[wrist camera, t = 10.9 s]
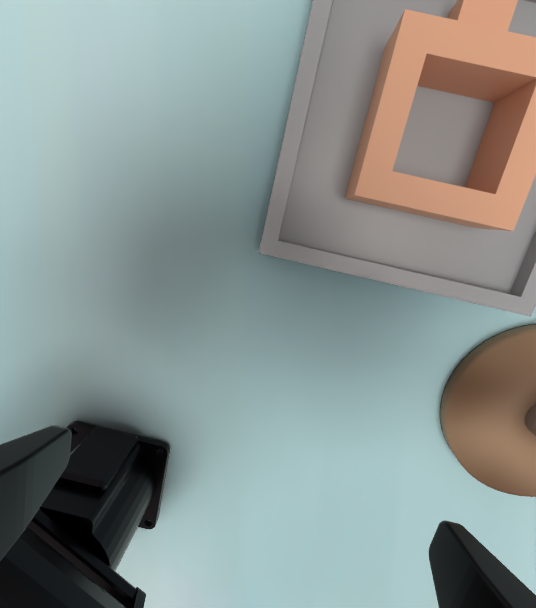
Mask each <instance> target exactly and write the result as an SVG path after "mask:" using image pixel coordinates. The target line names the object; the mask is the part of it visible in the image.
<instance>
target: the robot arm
mask: <svg viewBox="0 0 536 608" xmlns="http://www.w3.org/2000/svg"><path fill="white" fill-rule="evenodd" d="M74 428H75V429H76V430H77V431H78V432H77V431H75V430H74ZM158 449H161V450H163V452H160V451H159V450H158ZM169 453H170V447H169V445H168V444H166V443H165V442H161V441H157V440H153V439H149V438H145V437H141V436H137V435H133V434H129V433H124V432H120V431H116V430H112V429H108V428H104V427H100V426H96V425H92V424H88V423H83V422H79V421H74V422H72V423H71V424H70V425H69V426H68V427H67V428H64V427H60V426H50V427H47V428H45V429H42V430H39V431H36V432H34V433H31V434H28V435H26V436H23V437H20V438H17V439H15V440H12V441H9V442H7V443H4V444H1V445H0V608H143V607H144V602H145V597H146V594H145V593H144V592H143V591H142V590H141V589H139V588H138V587H137V588H135V587H133V586H132V585H131V584H130V583H129V582H127V581H126V580H125V579H124V578H123V577H121V576H120V575H119V574H118V573H117V572H115V571H116V569H117V567H118V565H119V563H120V561H121V559H122V557H123V555H124V553H125V551H126V549H127V547H128V545H129V543H130V541H131V539H132V537H133V535H134V533H135V531H136V529H137V527H141V528H145V529H153V528H154V527H155V525H156V523H157V520H158V516H159V510H160V504H161V498H162V493H163V487H164V481H165V476H166V470H167V464H168V458H169ZM149 520H150V521H149ZM429 560H430V565H431V570H432V575H433V580H434V585H435V590H436V595H437V600H438V605H439V608H536V595H535V594H534V593H533V592H532V591H531V590H529V589H528V588H527V587H526V586H525V585H524V584H523V583H522V582H521V581H520V580H519V579H518V578H517V577H516V576H515V575H514V574H513V573H512V572H510V571H509V570H508V569H507V568H506V567H505V566H504V565H503V564H502V563H501V562H500V561H499V560H498V559H497V558H496V557H495V556H494V555H493V554H492V553H490V552H489V551H488V550H487V549H486V548H485V547H484V546H483V545H482V544H481V543H480V542H479V541H478V540H477V539H476V538H475V537H474V536H473V535H472V534H470V533H469V532H468V531H467V530H466V529H465V528H464V527H463V526H462V525H460V524H458V523H453V522H449V521H442V522H441V523H440V524H439V526H438V528H437V530H436V533H435V535H434V537H433V540H432V542H431V544H430V547H429Z"/></svg>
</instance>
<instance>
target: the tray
mask: <svg viewBox="0 0 536 608" xmlns="http://www.w3.org/2000/svg"><path fill="white" fill-rule="evenodd" d="M457 1H458V0H313V2H312V7H311V11H310V16H309V21H308V25H307V30H306V35H305V39H304V44H303V49H302V53H301V58H300V63H299V67H298V72H297V77H296V81H295V86H294V91H293V95H292V100H291V105H290V109H289V114H288V119H287V123H286V128H285V133H284V137H283V142H282V147H281V151H280V156H279V161H278V165H277V170H276V175H275V179H274V184H273V189H272V193H271V198H270V203H269V207H268V212H267V217H266V221H265V226H264V231H263V235H262V240H261V244H260V249H259V253H260V254H264V255H269V256H273V257H277V258H281V259H286V260H290V261H294V262H299V263H303V264H307V265H312V266H316V267H320V268H324V269H329V270H333V271H337V272H342V273H346V274H350V275H355V276H359V277H363V278H368V279H372V280H376V281H380V282H385V283H389V284H393V285H398V286H402V287H406V288H411V289H415V290H419V291H423V292H428V293H432V294H436V295H441V296H445V297H449V298H454V299H458V300H462V301H467V302H471V303H475V304H479V305H484V306H488V307H492V308H497V309H501V310H505V311H510V312H514V313H518V314H522V315H527V316H531V315H532V312H533V310H534V308H535V305H536V175H535V178H534V180H533V183H532V185H531V188H530V191H529V193H528V196H527V198H526V201H525V203H524V206H523V208H522V211H521V213H520V216H519V218H518V221H517V224H516V226H515V229H514V231H505V230H492V229H478V228H473V227H469V226H464V225H460V224H456V223H451V222H447V221H442V220H438V219H434V218H429V217H425V216H420V215H416V214H412V213H407V212H403V211H398V210H394V209H390V208H385V207H381V206H376V205H372V204H368V203H363V202H359V201H354V200H350V199H346V198H345V196H346V192H347V188H348V184H349V181H350V177H351V173H352V169H353V166H354V162H355V158H356V154H357V151H358V147H359V143H360V139H361V135H362V132H363V128H364V124H365V120H366V117H367V113H368V109H369V105H370V102H371V98H372V94H373V90H374V87H375V83H376V79H377V75H378V72H379V68H380V64H381V60H382V56H383V53H384V49H385V46H386V44H387V42H388V40H389V39H390V37H391V35H392V33H393V31H394V29H395V27H396V25H397V24H398V22H399V20H400V18H401V16H402V14H403V12H404V10H405V9H407V10H412V11H416V12H421V13H425V14H430V15H435V16H439V17H444V18H448V16H449V13H450V11H451V9H452V8H453V7H454V5H455V4H456V3H457ZM508 31H509V32H513V33H518V34H522V35H527V36H532V37H536V0H518V2H517V5H516V8H515V11H514V14H513V17H512V20H511V22H510V25H509V28H508ZM493 106H494V103H493V102H489V101H484V100H480V99H475V98H471V97H466V96H462V95H457V94H453V93H448V92H443V91H439V90H434V89H430V88H425V87H421V86H417V88H416V92H415V95H414V99H413V102H412V105H411V109H410V112H409V116H408V119H407V122H406V126H405V129H404V133H403V136H402V139H401V143H400V146H399V150H398V153H397V156H396V160H395V163H394V167H393V170H392V171H394V172H399V173H403V174H408V175H412V176H416V177H421V178H425V179H430V180H434V181H439V182H443V183H447V184H452V185H456V186H461V187H466V184H467V181H468V178H469V175H470V172H471V169H472V166H473V164H474V161H475V158H476V155H477V152H478V149H479V146H480V143H481V141H482V138H483V135H484V132H485V129H486V126H487V123H488V120H489V117H490V115H491V112H492V109H493Z"/></svg>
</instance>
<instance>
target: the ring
mask: <svg viewBox="0 0 536 608" xmlns="http://www.w3.org/2000/svg"><path fill="white" fill-rule="evenodd" d="M517 2H518V0H458V1H457V3H456V4H455V5H454V7H453V8H452V9H451V11H450V13H449V16H448V18H444V17H439V16H435V15H430V14H425V13H421V12H416V11H412V10H407V9H405V10H404V12H403V14H402V16H401V18H400V20H399V22H398V24H397V25H396V27H395V29H394V31H393V33H392V35H391V37H390V39H389V40H388V42H387V44H386V46H385V49H384V53H383V56H382V60H381V64H380V68H379V72H378V75H377V79H376V83H375V87H374V90H373V94H372V98H371V102H370V105H369V109H368V113H367V117H366V120H365V124H364V128H363V132H362V135H361V139H360V143H359V147H358V151H357V154H356V158H355V162H354V166H353V169H352V173H351V177H350V181H349V184H348V188H347V192H346V196H345V198H346V199H350V200H354V201H359V202H363V203H368V204H372V205H376V206H381V207H385V208H390V209H394V210H398V211H403V212H407V213H412V214H416V215H420V216H425V217H429V218H434V219H438V220H442V221H447V222H451V223H456V224H460V225H464V226H469V227H473V228H478V229H492V230H505V231H514V229H515V226H516V224H517V221H518V218H519V216H520V213H521V211H522V208H523V206H524V203H525V201H526V198H527V196H528V193H529V191H530V188H531V185H532V183H533V180H534V178H535V175H536V37H532V36H527V35H522V34H518V33H513V32H509V31H508V28H509V25H510V22H511V20H512V17H513V14H514V11H515V8H516V5H517ZM417 86H421V87H425V88H430V89H434V90H439V91H443V92H448V93H453V94H457V95H462V96H466V97H471V98H475V99H480V100H484V101H489V102H493V103H494V106H493V109H492V112H491V115H490V117H489V120H488V123H487V126H486V129H485V132H484V135H483V138H482V141H481V143H480V146H479V149H478V152H477V155H476V158H475V161H474V164H473V166H472V169H471V172H470V175H469V178H468V181H467V184H466V187H461V186H456V185H452V184H447V183H443V182H439V181H434V180H430V179H425V178H421V177H416V176H412V175H408V174H403V173H399V172H394V171H392V170H393V167H394V163H395V160H396V156H397V153H398V150H399V146H400V143H401V139H402V136H403V133H404V129H405V126H406V122H407V119H408V116H409V112H410V109H411V105H412V102H413V99H414V95H415V92H416V88H417Z"/></svg>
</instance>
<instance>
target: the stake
mask: <svg viewBox="0 0 536 608" xmlns="http://www.w3.org/2000/svg"><path fill="white" fill-rule="evenodd" d="M440 420H441V427H442V431H443V434H444V437H445V439H446V441H447V444H448V446H449V447H450V449H451V450H452V452H453V453H454V455H455V456H456V458H457V459H458V461H459V462H460V464H461V465H462V466H463V467H464V468H465V470H466V471H467V472H468V473H469V474H470V475H472V476H473V477H474V478H476V479H477V480H478V481H480V482H481V483H483V484H485V485H486V486H489V487H491V488H493V489H495V490H498V491H501V492H504V493H508V494H513V495H518V496H530V497H536V324H531V325H526V326H521V327H517V328H514V329H511V330H507V331H505V332H503V333H500V334H498V335H496V336H494V337H492V338H490V339H488V340H487V341H485V342H483V343H482V344H480V345H479V346H478V347H476V348H475V349H474V350H472V351H471V352H470V353H469V354H468V355H467V356H466V357H465V358H464V359H463V360H462V361H461V363H460V364H459V365H458V366H457V367H456V369H455V370H454V372H453V373H452V375H451V377H450V378H449V380H448V383H447V385H446V387H445V390H444V393H443V396H442V401H441V407H440Z"/></svg>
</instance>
